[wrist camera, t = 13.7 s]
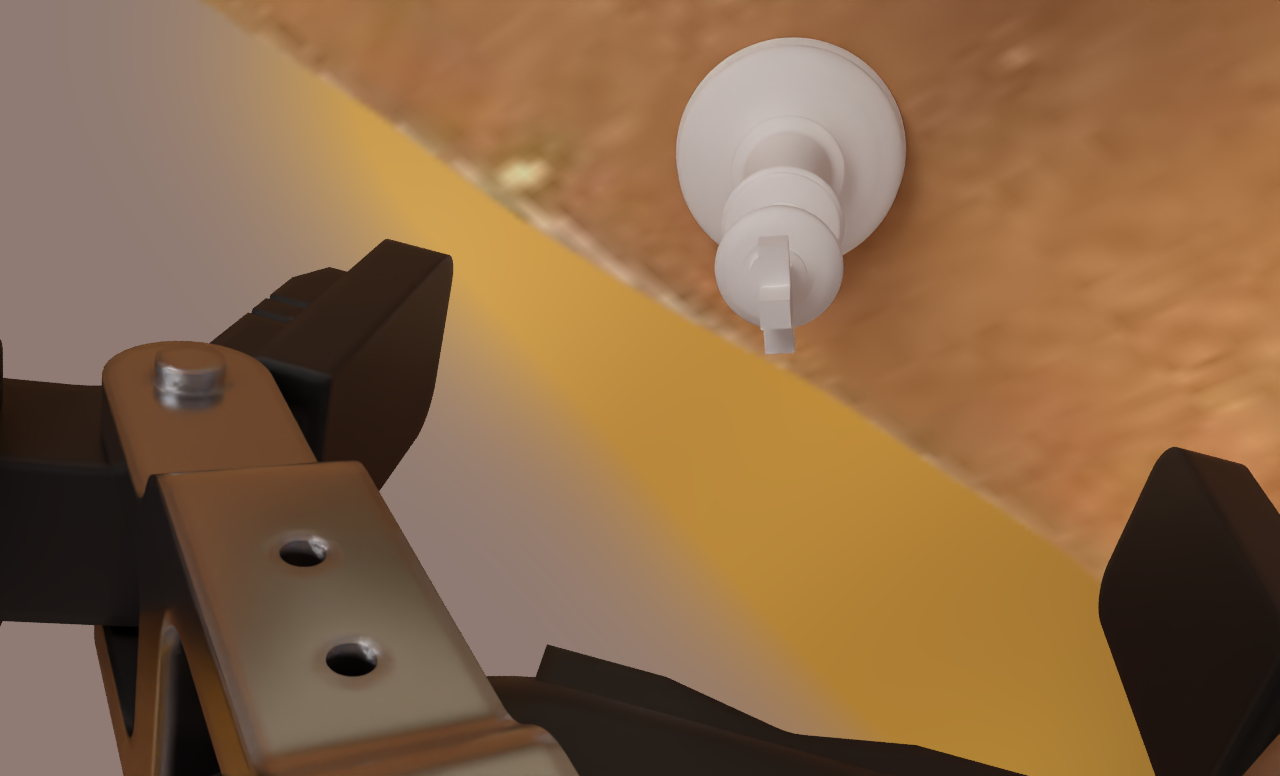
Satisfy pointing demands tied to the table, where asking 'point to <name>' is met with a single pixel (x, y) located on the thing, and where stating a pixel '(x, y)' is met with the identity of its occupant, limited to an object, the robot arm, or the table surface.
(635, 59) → the table surface
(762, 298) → the chess piece
